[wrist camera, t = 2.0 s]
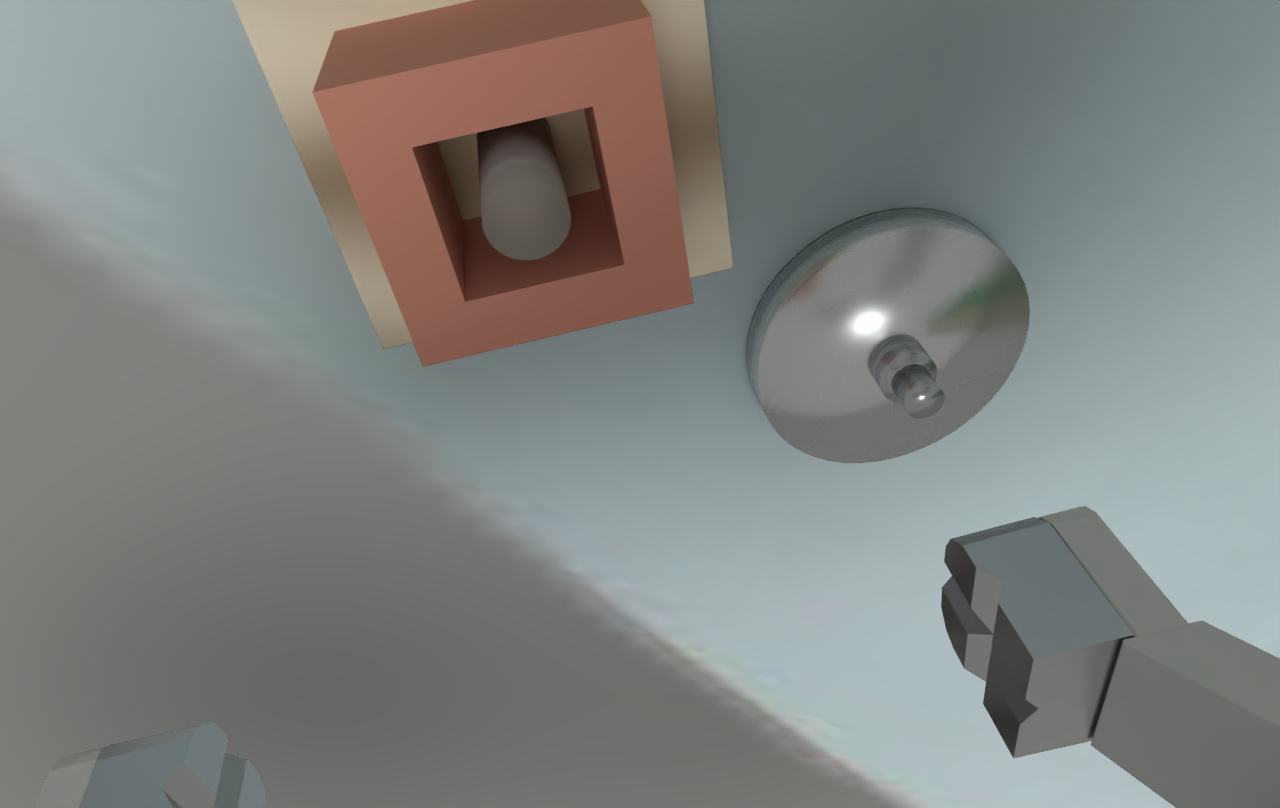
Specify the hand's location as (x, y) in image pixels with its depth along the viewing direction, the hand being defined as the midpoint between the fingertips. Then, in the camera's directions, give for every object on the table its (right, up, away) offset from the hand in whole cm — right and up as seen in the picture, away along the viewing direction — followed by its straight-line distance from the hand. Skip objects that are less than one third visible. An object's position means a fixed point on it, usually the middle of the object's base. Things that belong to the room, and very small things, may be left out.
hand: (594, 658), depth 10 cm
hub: (+8, +5, +20) cm, 22 cm away
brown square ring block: (-3, +9, +12) cm, 15 cm away
